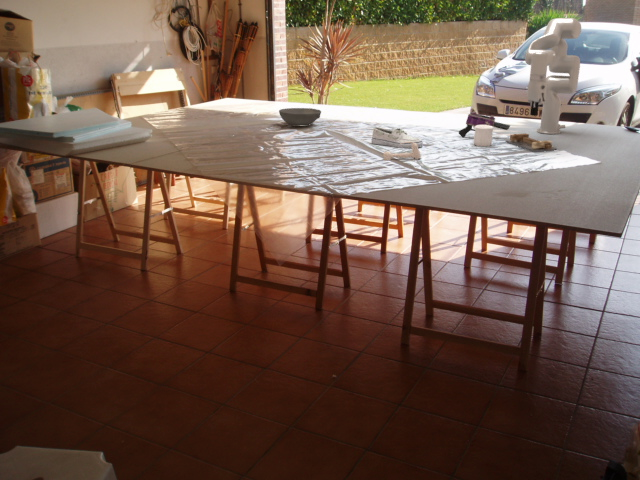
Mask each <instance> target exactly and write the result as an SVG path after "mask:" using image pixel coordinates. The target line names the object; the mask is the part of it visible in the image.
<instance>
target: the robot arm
mask: <svg viewBox="0 0 640 480" xmlns="http://www.w3.org/2000/svg"><path fill="white" fill-rule="evenodd" d="M581 33H582V24H581V22H580V21H579V20H578V19H577V18H574V17H557V18H552V19H551V20H549V21H548V23H547V26H546V27H545V30H544V32H543V35H541V36H540V37H538V38H536V39H535V40H533V41H532V42H531V43H530V44H529V45H528V48H527V50H526V52H525V58H524V61H525V63H526V65H528V66H530V74H529V81H528V85H527V91H526V99H527V102H528V103H529V105H530V112H529V113H530V114H529V115H530V116H531V117H532V116H538V114H539V108H540V106H542V111H541V119H540V128H538V129H537V131H536V132H537V133H539V134H543V135H544V134H545V135H558V134H561V129H566V124H559V122H560V114H561V107H562V100H561V97H560V96H559V94H562V95H563V94H566V95H571V94H574V93H576V92H577V88H578V82H579V77H580V68H581V59H580V57H579V56H577V55H576V54H575V55H574V54H573V55H571V54H569V55H568V54H567V53H568V49H569V48H568V47H569V45H568V42H567V40H571V39H572V40H574V39H578V38H579V37H580V36H581ZM566 39H567V40H566ZM547 70H549V72H551V73H554V74H553V75H549V76H548V75H547ZM555 74H567V75H555Z"/></svg>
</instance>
